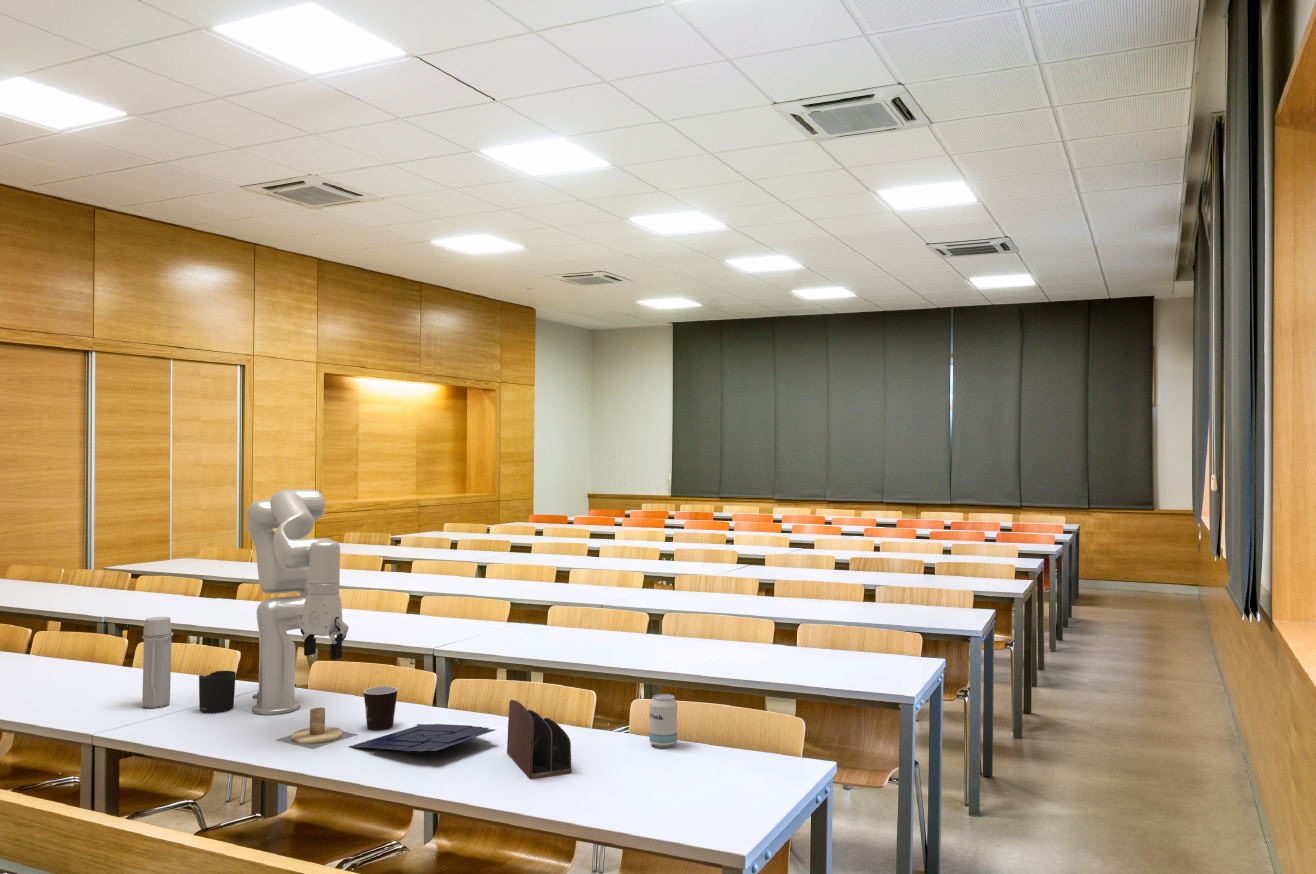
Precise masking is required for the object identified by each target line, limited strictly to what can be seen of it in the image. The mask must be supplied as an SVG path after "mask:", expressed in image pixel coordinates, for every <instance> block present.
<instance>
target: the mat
mask: <svg viewBox="0 0 1316 874" xmlns="http://www.w3.org/2000/svg"><path fill="white" fill-rule="evenodd" d="M358 735H359V734H357V733H353V732H349V731H345V730H342V736H341V737H340V738H339V739H337V740H334V741H331V742H326V743H320V744H299V743H295V742H293V741H292V734H290V735H287V736H283V737H281V738H276V739H275V741H277V742H281V743H286V744H291V745H293V746H297V747H303V748H307V749H310V750H314V749H317V748H320V747H324V746H326V745H331V744H333V743H336V742H339V741H342V740H345V739H349V738H352V737H356V736H358Z"/></svg>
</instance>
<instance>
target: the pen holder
mask: <svg viewBox="0 0 1316 874" xmlns="http://www.w3.org/2000/svg"><path fill="white" fill-rule="evenodd" d="M236 674H237V673H236V671H234V670H217V671H213V672H212V673H210V674H207V675H198V695H199V696H198V697H199V699H198V701H199V702H198V703H199V712H201V713H202V714H221V713H227V712H229V711H231V710H232V709H233V708H234V706H235V704H234V702H235V693H236V691H235V690H236V677H237V676H236Z"/></svg>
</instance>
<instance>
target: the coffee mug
mask: <svg viewBox="0 0 1316 874" xmlns="http://www.w3.org/2000/svg"><path fill="white" fill-rule="evenodd" d="M398 690H399V689H398V688H397V687H395V686H374V687H369V688H366V689H364V690H363V698H364V708H365V719H366V728H367V730H368V731H375V732H377V731H379V732H380V731H388V730H389V729H390V730H391V729H392V728H393V727H394V721H395V720H394V719H395V713H396V704H397V697H398Z"/></svg>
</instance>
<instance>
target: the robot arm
mask: <svg viewBox="0 0 1316 874" xmlns="http://www.w3.org/2000/svg"><path fill="white" fill-rule="evenodd" d="M325 511H326V499H325V498H324V496H323V494H322V493H321V492H320V491H319V490H316V489H312V488H311V489H308V488H307V489H306V488H305V489H283V490H279V491H277V492H275V493H274V494H273V495H272V497H271V498H270V499H262V500H256V501H254V502H252V503H250V504H249V506H248V507H247V510H246V527H247V531H248V534H249V536H250V539H251V541H252V543H253V545H254V547H255V554H256V555H255V556H256V566H257V575H258V582H259V583H258V584H259V587H260V590H261V591H262V593H265V594H267V595H268V594H269V595H275V594H277V595H278V594H279V595H281V594H291V593H298V594H299V595H294V596H293V595H292V596H289V595H287V596H279V597H270V598H267V599H264V600H263V601H261V602H260V603H259V604H258V606H257V609H256V620H257V628H258V640H259V643H258V645H259V646H258V647H259V648H258V649H259V651H258V652H259V654H258V655H259V659H258V663H259V664H258V691H257V692H256V693H253V695H252V698H253V700H254V699H255V700H256V704H254V705H253V706H251V707H252V709H251V710H252V713H254V714H257V715H280V714H286V713H290V712H291V713H292V712H294V711H296V710H298V709H299V708H300V707H301V702H300V701H299V700H295V693H296V692H295V690H296V688H295V687H296V685H295V684H296V644H295V642H294V640H293V639H292V638H291V637H290V635H288V633H287V632H288V631H292V630H293V631H294V630H300V631H299V632H300V633H301V635H302V636H301V637H302V640H304V641H303V643H304V644H303V655H304V657H305V656H311V655H315V654H316V650H317V649H316V648H317V638H315V637H316V636H319V637H329V639H330V641H331V643H330V644H329V659H330V660H331V661H334V660H337V659H341V658H342V656H343V655H342V654H343V643H344V642H345V639H346V638H347V634H348V631H349V628H350V627H349V625H347V623H345V622H344V621H343V609H342V599H341V595H340V583H341V582H340V578H341V577H340V576H341V575H340V573H341V571H340V570H341V569H340V568H341V545H340V543H339V542H338V541H335V540H332V538H331V539H330V538H328V537H327V538H326V537H322V538H321V537H319V538H315V537H314V538H305V537H306V536H308V535H309V534H310V533H311V532H312V531H313V529H314V527H315V522H317V521H318V520H319V519H321V518H322V517H323V515H324V514H325ZM273 529H276V530H273Z"/></svg>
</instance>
